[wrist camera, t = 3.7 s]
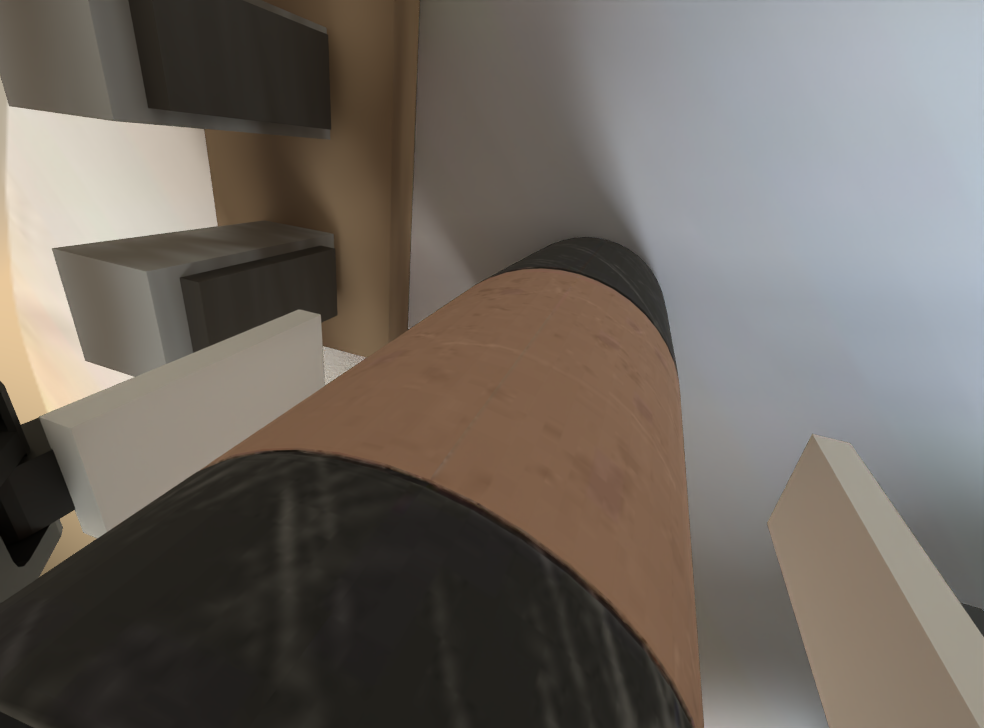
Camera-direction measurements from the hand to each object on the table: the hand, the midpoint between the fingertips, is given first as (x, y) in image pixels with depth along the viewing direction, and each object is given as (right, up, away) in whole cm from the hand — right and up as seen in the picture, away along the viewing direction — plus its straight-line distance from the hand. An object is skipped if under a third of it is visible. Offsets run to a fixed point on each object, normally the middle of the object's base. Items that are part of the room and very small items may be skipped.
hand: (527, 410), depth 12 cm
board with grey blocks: (-9, +15, +8) cm, 19 cm away
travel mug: (+3, +4, +9) cm, 10 cm away
